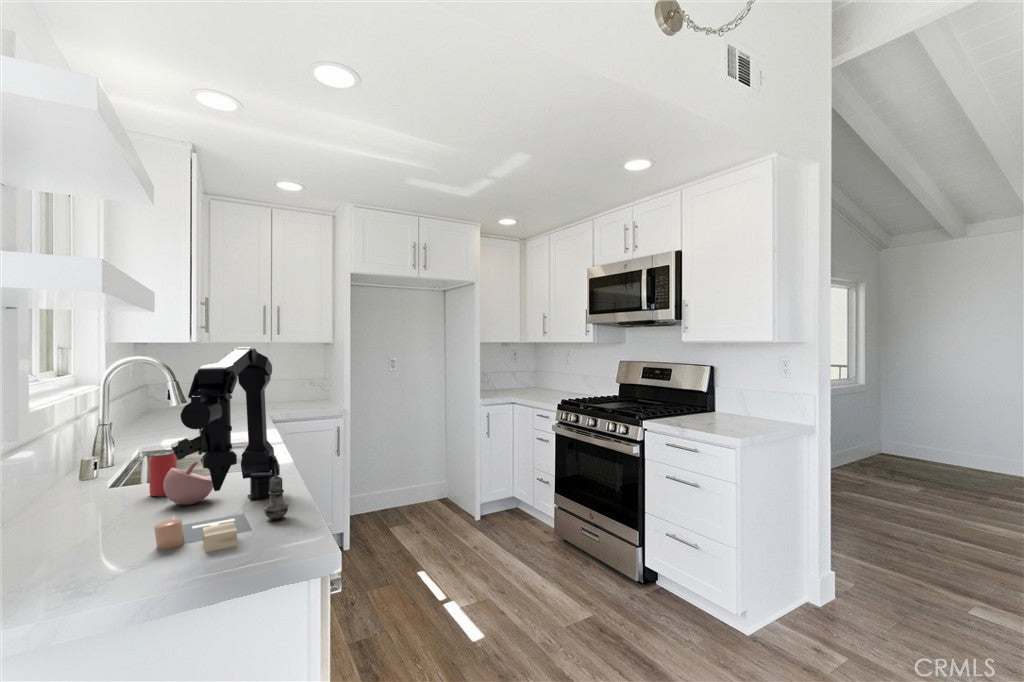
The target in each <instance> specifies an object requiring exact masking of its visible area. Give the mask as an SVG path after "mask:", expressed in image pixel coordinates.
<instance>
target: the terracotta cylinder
mask: <svg viewBox="0 0 1024 682" xmlns="http://www.w3.org/2000/svg"><path fill="white" fill-rule="evenodd" d="M182 525H183V521H182V519H181V518H173V519H169V520H165V521H164V520H163V521H162V522H160V523H157V524H155V525H154V528H153V531H154V536H155V543H156V544H155V546H156V549H157V550H159V551H169V550H174V549H177V548H180V547H182V546H183V545H185V544H184V535H183V527H182Z"/></svg>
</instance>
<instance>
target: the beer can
mask: <svg viewBox="0 0 1024 682" xmlns="http://www.w3.org/2000/svg"><path fill="white" fill-rule="evenodd" d="M177 466H178V465H177V458H176V456H175V454H174V452H173V450H163V451H156V452H153V453H151V456H150V458H149V462H148V467H149V468H148V469H149V470H148V471H149V472H148V473H149V475H148V476H149V481H148V482H149V495H150V496H151V497H154V496H161V497H167V496H166V494H165V491H164V486H163V485H164V479H165V477H166V475H167V473H168V472H169V470H170V469H171V468H177V469H178V467H177Z"/></svg>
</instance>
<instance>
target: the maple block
mask: <svg viewBox="0 0 1024 682" xmlns="http://www.w3.org/2000/svg"><path fill="white" fill-rule="evenodd" d="M237 537H238V534H237V530H236V527H235V524H234V522H231V523H226V524H220V525H215V526H210V527H204V528H203V541H202V543H203V549H204V553H208V552H215V551H217V550H222V549H227V548H232V547H233V548H234V547H236V546H238V538H237Z"/></svg>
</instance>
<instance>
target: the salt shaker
mask: <svg viewBox="0 0 1024 682" xmlns="http://www.w3.org/2000/svg"><path fill="white" fill-rule="evenodd" d="M268 493H269V494H270V498H269V503H268V505H266V506H264V507H263V511H264V514H265V516H266V517H267V518H268V519H267V520H266V523H270V524H277V523H281V522H284V521H286V520H287V517H286V514H287V513H288V511H289V507H290V504H289V503H285V501H284V493H285V490H284V489H283V478H282V477H281V476H277V474H275V477H272V478H271V480H270V491H269V492H268Z"/></svg>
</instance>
